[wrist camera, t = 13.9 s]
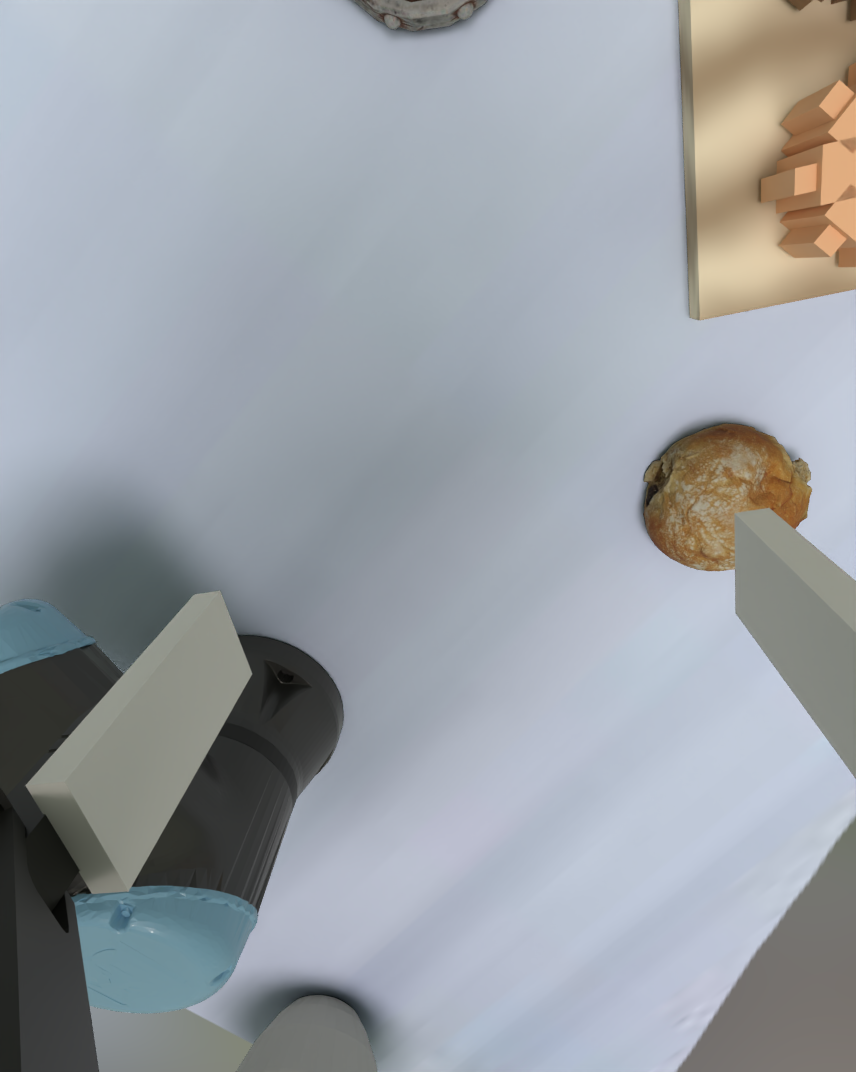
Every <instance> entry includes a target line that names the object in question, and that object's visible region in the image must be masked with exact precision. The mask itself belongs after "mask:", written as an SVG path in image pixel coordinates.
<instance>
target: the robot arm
mask: <svg viewBox="0 0 856 1072" xmlns="http://www.w3.org/2000/svg"><path fill="white" fill-rule="evenodd" d="M734 515H735V611H736V614H737V616H738V617H739V619H740V620H741V621H742V623H743V624H744V625H745V627H746V628H747V630H748V631H749V632H750V634H751V635H752V636H753V638H754V639H755V641H756V642H757V643H758V645H759V646H760V647H761V649H762V650H763V652H764V653H765V654H766V656H767V657H768V658H769V660H770V661H771V663H772V664H773V665H774V667H775V668H776V670H777V671H778V672H779V674H780V675H781V676H782V678H783V679H784V681H785V682H786V683H787V685H788V686H789V687H790V689H791V690H792V692H793V693H794V694H795V696H796V697H797V698H798V700H799V701H800V703H801V704H802V705H803V707H804V708H805V709H806V711H807V712H808V714H809V715H810V716H811V718H812V719H813V720H814V722H815V723H816V725H817V726H818V727H819V729H820V730H821V732H822V733H823V734H824V736H825V737H826V738H827V740H828V741H829V743H830V744H831V745H832V747H833V748H834V749H835V751H836V752H837V754H838V755H839V756H840V758H841V759H842V760H843V762H844V763H845V765H846V766H847V767H848V769H849V770H850V771H851V773H852V774H853V776H854V777H855V778H856V581H855V580H854V579H853V578H851V577H850V576H849V575H848V574H847V573H846V572H844V571H843V570H842V569H841V568H840V567H838V566H837V565H836V564H835V563H834V562H833V561H831V560H830V559H829V558H828V557H827V556H825V555H824V554H823V553H822V552H821V551H820V550H818V549H817V548H816V547H815V546H814V545H812V544H811V543H810V542H809V541H808V540H807V539H805V538H804V537H803V536H802V535H801V534H800V533H798V532H797V531H796V530H795V529H794V528H792V527H791V526H790V525H789V524H788V523H787V522H785V521H784V520H783V519H782V518H781V517H779V516H778V515H777V514H776V513H775V512H774V511H772V510H771V509H770V508H765V509H758V510H751V511H745V512H738V513H734ZM95 643H96V641H95V639H94V638H92V637H91V636H86V635H85V634H84V633H83V632H82V631H81V630H79V629H78V628H77V627H76V626H75V625H74V624H73V623H72V622H70V621H69V620H68V619H67V618H66V617H65V616H64V615H63V614H61V613H60V612H59V611H58V610H57V609H56V608H55V607H54V606H52V605H51V604H49V603H47V602H45V601H41V600H37V599H22V600H17V601H13V602H10V603H8V604H6V605H3V606H1V607H0V1072H99V1069H98V1061H97V1055H96V1047H95V1041H94V1034H93V1027H92V1020H91V1013H90V1006H93V1007H97V1008H102V1009H107V1010H111V1011H118V1012H131V1013H161V1012H169V1011H175V1010H180V1009H184V1008H187V1007H190V1006H192V1005H195V1004H198V1003H200V1002H202V1001H204V1000H206V999H207V998H209V997H210V996H212V995H213V994H215V993H216V992H217V991H218V990H219V989H220V988H221V987H222V986H223V985H224V984H225V983H226V982H227V981H228V979H229V978H230V976H231V975H232V973H233V971H234V969H235V967H236V965H237V962H238V960H239V957H240V955H241V953H242V950H243V948H244V946H245V944H246V941H247V939H248V937H249V934H250V932H251V931H252V930H253V929H254V927H255V925H256V923H257V917H258V911H259V908H260V905H261V902H262V899H263V896H264V893H265V890H266V887H267V884H268V881H269V879H270V876H271V873H272V870H273V867H274V864H275V861H276V858H277V855H278V852H279V849H280V846H281V843H282V840H283V837H284V834H285V831H286V828H287V825H288V822H289V819H290V816H291V813H292V810H293V808H294V805H295V802H296V799H297V798H298V797H299V795H300V794H301V793H302V791H303V790H304V789H305V788H306V786H307V785H308V784H309V783H310V781H311V780H312V779H313V777H314V776H315V775H316V774H318V773H319V772H320V771H321V769H322V768H323V767H324V766H325V765H326V764H327V763H328V761H329V760H330V758H331V756H332V755H333V753H334V751H335V748H336V746H337V742H338V739H339V736H340V733H341V729H342V725H343V706H342V701H341V698H340V695H339V692H338V690H337V688H336V686H335V684H334V683H333V681H332V680H331V678H330V677H329V675H328V674H327V673H326V672H325V671H324V670H323V668H322V667H321V666H320V665H319V664H317V663H316V662H315V661H314V660H313V659H311V658H310V657H309V656H307V655H306V654H304V653H303V652H301V651H299V650H298V649H296V648H294V647H292V646H290V645H287V644H285V643H282V642H279V641H276V640H273V639H269V638H264V637H256V636H237V633H236V630H235V628H234V625H233V623H232V620H231V617H230V615H229V612H228V610H227V607H226V604H225V602H224V599H223V597H222V594H221V592H220V591H214V592H207V593H201V594H194V595H193V596H192V597H191V599H190V600H189V601H188V602H187V603H186V604H185V605H184V607H183V608H182V609H181V610H180V611H179V612H178V613H177V614H176V616H175V617H174V618H173V619H172V620H171V621H170V622H169V623H168V625H167V626H166V627H165V628H164V629H163V630H162V631H161V633H160V634H159V635H158V636H157V637H156V638H155V639H154V640H153V642H152V643H151V644H150V645H149V646H148V647H147V648H146V650H145V651H144V652H143V653H142V654H141V655H140V656H139V657H138V659H137V660H136V661H135V662H134V663H133V664H132V665H131V667H130V668H129V669H128V670H127V671H126V672H125V673H124V674H123V673H122V672H121V671H120V670H119V669H118V668H117V667H116V666H115V665H114V663H113V662H112V661H111V660H110V659H109V658H108V657H107V656H106V655H105V654H104V653H103V652H102V651H101V650H100V649H99V648H98V647H97V645H96V644H95Z"/></svg>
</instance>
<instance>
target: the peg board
mask: <svg viewBox="0 0 856 1072" xmlns="http://www.w3.org/2000/svg"><path fill="white" fill-rule="evenodd" d="M678 7H679V35H680V62H681V90H682V117H683V145H684V172H685V200H686V227H687V254H688V282H689V309H690V318H692V319H696V320H704V319H709V318H714V317H719V316H724V315H729V314H734V313H739V312H744V311H749V310H754V309H759V308H764V307H769V306H774V305H779V304H784V303H789V302H794V301H799V300H804V299H809V298H814V297H819V296H824V295H829V294H834V293H839V292H844V291H849V290H854V289H856V267H838V264H839V251H836V252H835V253H834V254H833V255H832V256H831V257H817V258H794V257H792V256H791V255H790V254H789V253H788V252H786V251H785V250H784V249H783V248H781V247H780V246H779V245H780V243H781V242H782V241H783V240H784V239H785V237H786V236H787V235H788V234H789V233H790V230H789V229H787V228H786V227H785V226H784V225H783V224H781V223H780V221H781V219H782V218H783V217H784V216H785V214H786V213H787V212H782V213H777V214H776V200H773V201H769V202H764V203H761V179H763V178H766V177H769V176H772V175H775V174H776V171H777V161H779V160H782V159H785V158H787V156H786V155H785V154H784V153H783V152H782V151H781V150H782V148H783V147H784V146H785V144H786V143H787V142H788V141H789V139H790V138H791V137H792V135H793V134H792V133H791V132H789V131H788V130H787V129H786V128H785V127H784V126H782V125H781V123H782V122H783V121H784V120H785V118H786V117H787V116H788V114H789V113H790V112H791V110H792V109H793V108H794V106H795V105H796V104H797V103H798V101H800V100H802V99H804V98H806V97H807V96H809V95H811V94H813V93H815V92H817V91H819V90H821V89H823V88H825V87H826V86H828V85H830V84H832V83H834V82H836V81H838V80H840V81H841V82H842V83H844V84H845V85H846V86H848V72H849V66H850V65H852V64H854V63H856V0H678Z"/></svg>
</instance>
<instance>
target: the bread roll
mask: <svg viewBox="0 0 856 1072" xmlns="http://www.w3.org/2000/svg"><path fill="white" fill-rule="evenodd" d="M809 480H811V472H810V470H809V468H808V464H807V463H806V462H804V461H803V460H802V459H801V458H799V460H795V462H793V461H791V460H790V457H789V455H788V454H787V452H786V451H785V449H784V447H783V446H782V445H780V444H779V443H778V442H777V440H776V439H775V437H773V436H770V435H767V434H765V433H762V432H759V431H756V430H755V428H753V427H748V426H744V425H737V424H721V425H718V426H713V427H710V428H708V429H703V430H702V431H700V432H697V433H695V434H693V435H690V436H687V437H685V438H683V439H681V440H679V441H677V442H676V443H674V444H673V445H672V446H671V447H670V448H669V449H668V451H667V452H666V453H665V454H664V455H663V456H662V457H661V460H659V461H657V460H656V461H653V462H652V463H651V465H650V467H649V468H648V470H647V471H646V473H645V478H644V482H648V487H647V490H646V498H645V506H644V514H643V515H644V518H645V524H646V528H647V532H648V534H649V536H650V538H651V540H652V541H653V542H654V544H655V545H656V546H657V547H658V549H659V550H661V551H662V552H663V553H664V554H665V555H667V556H668V557H669V558H671V559H673V560H675V561H677V562H679V563H681V564H683V565H686V566H688V567H690V568H694V569H697V570H705V571H724V570H732V569H735V515H734V513H738V512H745V511H751V510H758V509H765V508H770V509H771V510H772V511H774V512H775V513H776V514H777V515H778V516H779V517H781V518H782V519H783V520H784V521H785V522H787V523H788V524H789V525H790V526H791V527H792V528H794V529H795V528H796V527H797V526H798V525H799V523H800V522H801V521H802V520H804V519H806V518H807V511H808V505H809V498H810V495H811V492H812V488H811V487H810V486H808V485H807V482H808V481H809Z"/></svg>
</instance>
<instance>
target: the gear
mask: <svg viewBox="0 0 856 1072" xmlns="http://www.w3.org/2000/svg"><path fill="white" fill-rule="evenodd" d="M781 125H782V126H784V127H785V128H786V129H787V130H788V131H789V132H791V133H792V134H793V135H792V137H791V138H790V139H789V141H788V142H787V143H786V144H785V146H784V147H783V148H782V150H781V151H782V152H783V153H784V154H785V155H786V156H787V158H785V159H782V160H779V161H777V171H776V174H775V175H772V176H769V177H766V178H763V179H761V203H764V202H769V201H773V200H776V214H777V213H782V212H787V213H786V214H785V216H784V217H783V218H782V219H781V221H780V223H781V224H783V225H784V226H785V227H786V228H787V229H789V230H790V233H789V234H788V235H787V236H786V237H785V239H784V240H783V241H782V242H781V243H780V245H779V246H780V247H781V248H783V249H784V250H785V251H786V252H788V253H789V254H790V255H791V256H792V257H794V258H817V257H831V256H832V255H833V254H834V253H835V252H836V251H839V264H838V267H856V63H854V64H852V65H850V66H849V72H848V86H846V85H845V84H844V83H842V82H841V81H840V80H838V81H836V82H834V83H832V84H830V85H828V86H826V87H825V88H823V89H821V90H819V91H817V92H815V93H813V94H811V95H809V96H807V97H806V98H804V99H802V100H800V101H798V103H797V104H796V105H795V106H794V108H793V109H792V110H791V112H790V113H789V114H788V116H787V117H786V118H785V120H784V121H783V122H782V123H781Z"/></svg>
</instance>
